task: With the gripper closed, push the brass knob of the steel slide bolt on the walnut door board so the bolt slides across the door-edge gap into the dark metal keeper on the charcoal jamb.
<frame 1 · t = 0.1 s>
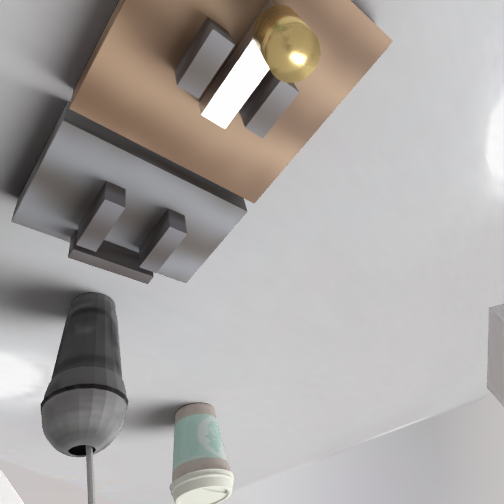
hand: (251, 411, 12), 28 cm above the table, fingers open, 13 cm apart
beverage cup: (93, 305, 48), on the table
door board: (190, 112, 35), on the table
bolt: (254, 77, 28), point 6 cm above the table, slide at 0.0 cm
coffee cup: (194, 411, 67), on the table
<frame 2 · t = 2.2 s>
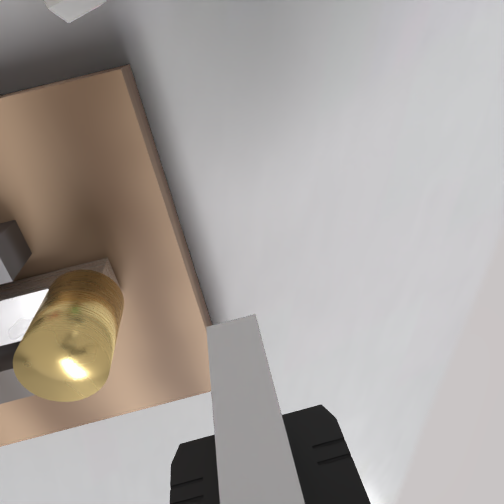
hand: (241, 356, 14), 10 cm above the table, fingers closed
bolt: (9, 336, 17), point 6 cm above the table, slide at 0.0 cm
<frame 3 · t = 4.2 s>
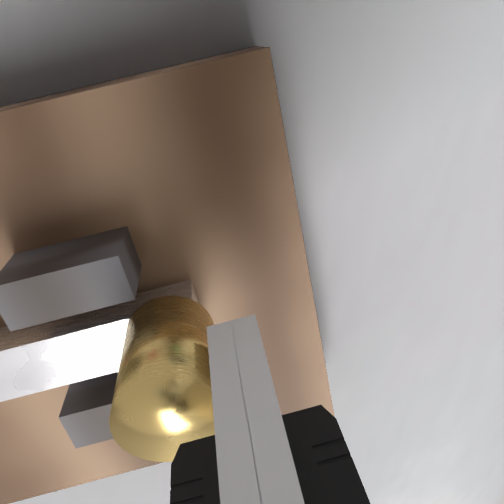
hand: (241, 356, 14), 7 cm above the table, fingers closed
door board: (4, 311, 20), on the table
bolt: (86, 376, 14), point 6 cm above the table, slide at 1.4 cm, touching gripper
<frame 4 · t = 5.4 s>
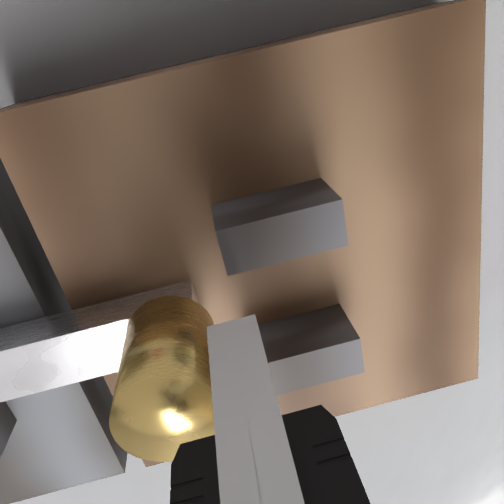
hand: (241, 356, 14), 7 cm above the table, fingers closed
door board: (160, 272, 20), on the table
bolt: (86, 377, 14), point 6 cm above the table, slide at 8.4 cm, touching gripper
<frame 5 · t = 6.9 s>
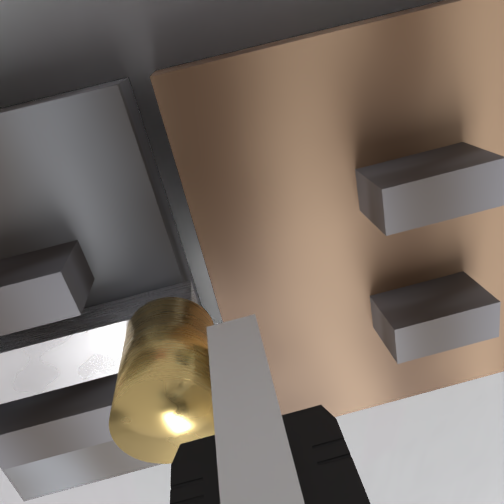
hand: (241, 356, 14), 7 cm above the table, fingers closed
door board: (275, 243, 20), on the table
bolt: (86, 378, 14), point 6 cm above the table, slide at 13.7 cm, touching gripper
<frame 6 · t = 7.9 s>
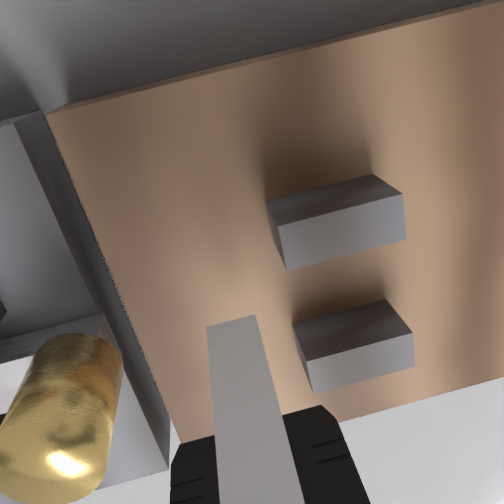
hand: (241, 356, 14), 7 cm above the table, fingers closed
door board: (204, 269, 20), on the table
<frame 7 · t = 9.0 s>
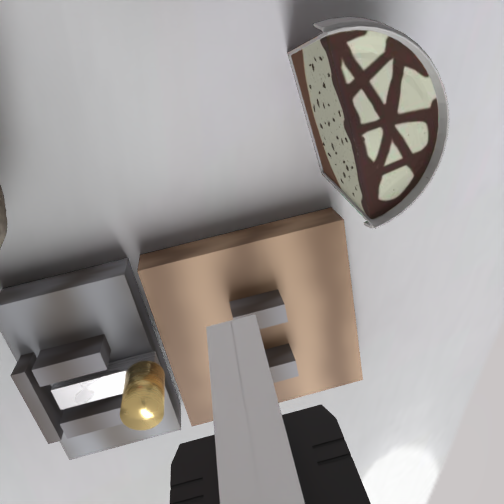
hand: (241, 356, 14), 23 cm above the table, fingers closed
door board: (201, 326, 40), on the table
bolt: (108, 396, 34), point 6 cm above the table, slide at 13.7 cm
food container: (342, 101, 34), on the table
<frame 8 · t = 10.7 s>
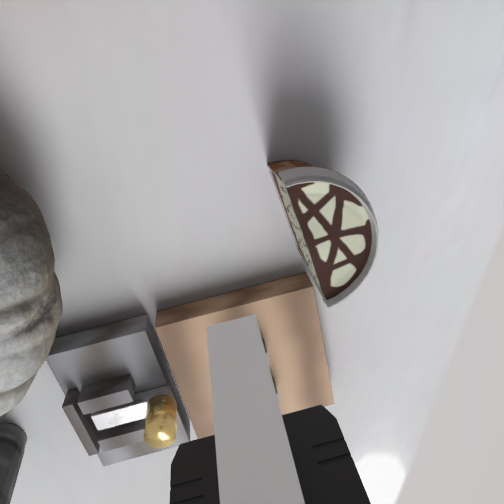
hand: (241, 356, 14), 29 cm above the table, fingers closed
beverage cup: (6, 436, 51), on the table
door board: (204, 362, 50), on the table
bolt: (134, 421, 44), point 6 cm above the table, slide at 13.7 cm
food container: (311, 196, 44), on the table
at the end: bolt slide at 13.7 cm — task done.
